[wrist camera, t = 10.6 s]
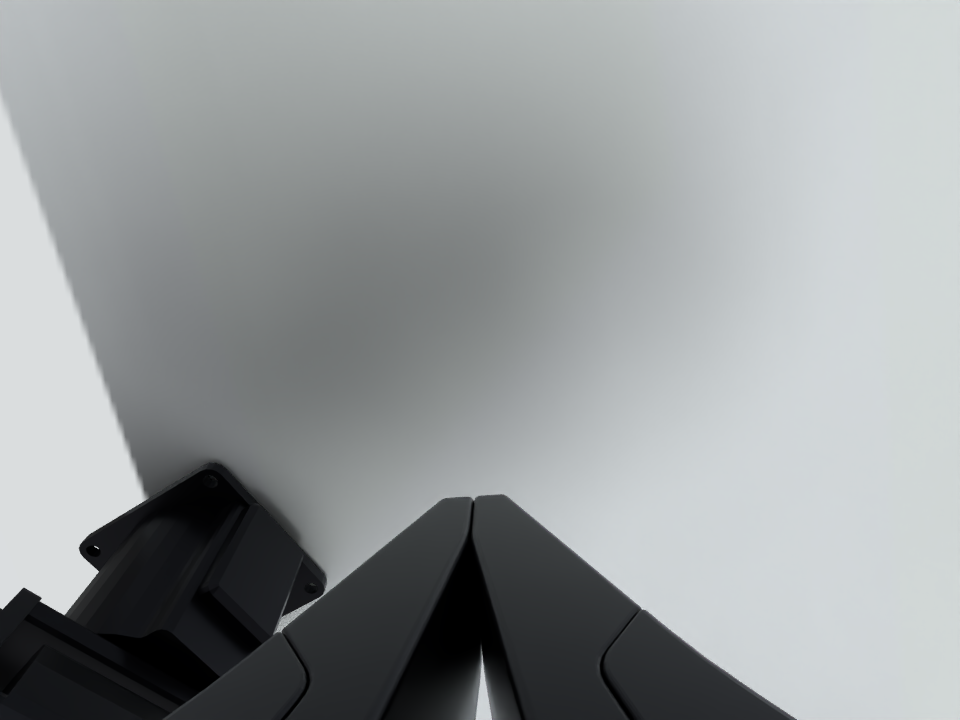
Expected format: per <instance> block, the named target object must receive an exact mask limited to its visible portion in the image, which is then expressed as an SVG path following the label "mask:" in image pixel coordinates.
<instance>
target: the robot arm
mask: <svg viewBox="0 0 960 720" xmlns="http://www.w3.org/2000/svg"><path fill="white" fill-rule="evenodd" d="M208 475H211V476H214V477H215V478H216V479H217V480H218V481H212V480H211V479H209V477H208ZM94 546H96V547H98V548H99V549H97V548H95V547H94ZM79 550H80V553H81V555H82V556H83V557H84V558H85V559H86V560H87V561H88V562H89V563H90V564H92V565H93V566H94V567H95V568H96V569H97V570H98V571H99V573H98V574H97V575H96V577H95V578H94V579H93V580H92V581H91V583H90V584H89V585H88V587H87V588H86V589H85V590H84V592H83V593H82V594H81V595H80V597H79V598H78V599H77V600H76V602H75V603H74V604H73V605H72V607H71V608H70V609H69V610H68V612H67V613H66V614H65V616H64V615H63V614H61V613H59V612H57V611H56V610H54V609H52V608H50V607H49V606H47V605H45V604H43V603H41V602H40V600H41V597H39V596H37V595H36V594H34V593H32V592H31V591H29V590H27V589H25V588H23V589H22V590H21V591H20V592H19V593H18V594H17V595H16V596H15V597H14V598H13V599H12V600H11V601H10V602H9V603H8V605H7V606H6V607H5V608H4V609H3V610H2V609H1V608H0V720H475V719H476V710H477V702H478V693H479V685H480V674H481V662H482V655H483V664H484V672H485V680H486V686H487V692H488V698H489V704H490V710H491V716H492V720H797V719H795V718H794V717H792V716H791V715H789V714H788V713H786V712H785V711H783V710H782V709H780V708H779V707H777V706H776V705H774V704H773V703H771V702H770V701H768V700H767V699H765V698H764V697H762V696H761V695H759V694H757V693H756V692H755V691H753V690H752V689H750V688H749V687H747V686H746V685H745V684H743V683H742V682H740V681H739V680H737V679H736V678H734V677H733V676H732V675H730V674H729V673H727V672H726V671H724V670H723V669H721V668H720V667H719V666H717V665H716V664H714V663H713V662H711V661H710V660H708V659H707V658H706V657H704V656H703V655H702V654H700V653H699V652H698V651H697V650H695V649H694V648H693V647H691V646H690V645H689V644H688V643H686V642H685V641H684V640H682V639H681V638H680V637H679V636H677V635H676V634H675V633H673V632H672V631H671V630H670V629H668V628H667V627H666V626H665V625H663V624H662V623H661V622H660V621H658V620H657V619H656V618H655V617H654V616H652V615H651V614H650V613H649V612H648V611H646V610H642V609H641V607H640V606H639V605H637V604H636V603H635V602H634V601H633V600H631V599H630V598H629V597H628V596H626V595H625V594H624V593H623V592H622V591H620V590H619V589H618V588H617V587H616V586H614V585H613V584H612V583H611V582H610V581H608V580H607V579H606V578H605V577H604V576H602V575H601V574H600V573H599V572H598V571H596V570H595V569H594V568H593V567H592V566H590V565H589V564H588V563H587V562H586V561H584V560H583V559H582V558H581V557H580V556H578V555H577V554H576V553H575V552H574V551H572V550H571V549H570V548H569V547H567V546H566V545H565V544H564V543H563V542H561V541H560V540H559V539H558V538H557V537H555V536H554V535H553V534H552V533H551V532H549V531H548V530H547V529H546V528H545V527H543V526H542V525H541V524H540V523H539V522H537V521H536V520H535V519H534V518H533V517H531V516H530V515H529V514H528V513H527V512H525V511H524V510H523V509H522V508H521V507H519V506H518V505H517V504H516V503H514V502H513V501H512V500H511V499H510V498H508V497H507V496H505V495H502V494H500V495H485V496H478V497H476V498H475V500H473V499H472V498H471V497H455V498H445V499H442V500H441V501H439V502H438V503H437V504H436V505H434V506H433V507H432V508H431V509H430V510H428V511H427V512H426V513H425V514H423V515H422V516H421V517H420V518H419V519H417V520H416V521H415V522H414V523H412V524H411V525H410V526H409V527H408V528H406V529H405V530H404V531H403V532H401V533H400V534H399V535H398V536H396V537H395V538H394V539H393V540H392V541H390V542H389V543H388V544H387V545H385V546H384V547H383V548H382V549H381V550H379V551H378V552H377V553H376V554H374V555H373V556H372V557H371V558H369V559H368V560H367V561H366V562H365V563H363V564H362V565H361V566H360V567H358V568H357V569H356V570H355V571H354V572H352V573H351V574H350V575H349V576H347V577H346V578H345V579H344V580H342V581H341V582H340V583H339V584H338V585H336V586H335V587H334V588H333V589H331V590H330V591H329V592H328V593H327V594H325V595H324V596H323V597H322V598H320V599H319V600H318V601H317V602H315V603H314V604H313V605H312V606H311V607H309V608H308V609H307V610H306V611H304V612H303V613H302V614H301V615H300V616H298V617H297V618H296V619H295V620H293V621H292V622H291V623H290V624H288V625H287V626H286V627H285V628H284V629H283V630H282V633H280V632H278V633H275V632H276V630H277V627H278V624H279V622H280V619H281V617H282V616H284V615H286V614H288V613H290V612H292V611H294V610H296V609H298V608H300V607H301V606H303V605H305V604H307V603H309V602H311V601H313V600H315V599H317V598H319V597H320V596H321V595H323V593H324V591H325V587H326V584H327V579H326V577H325V575H324V574H323V573H322V572H321V571H320V570H319V569H318V568H317V567H316V565H315V564H314V563H313V562H312V561H311V560H310V559H309V558H308V557H307V556H306V555H305V554H304V552H303V550H302V549H301V548H300V547H299V546H298V545H297V544H296V543H295V542H294V541H293V539H292V538H291V537H290V536H289V535H288V534H287V533H286V532H285V531H284V530H283V529H282V528H281V526H280V525H279V524H278V523H277V522H276V521H275V520H274V519H273V518H272V517H271V516H270V515H269V513H268V512H267V511H266V510H265V509H264V508H263V507H262V506H261V505H259V504H258V503H257V502H256V500H255V499H254V498H253V497H252V496H251V495H250V494H249V493H248V492H247V491H246V490H245V489H244V487H243V486H242V485H241V484H240V483H239V482H238V481H237V480H236V479H235V478H234V477H233V476H232V474H231V473H230V472H229V471H228V470H227V469H226V468H225V467H223V466H222V465H220V464H217V463H208V464H205V465H204V466H202V467H200V468H199V469H197V470H195V471H194V472H192V473H190V474H189V475H187V476H185V477H184V478H182V479H180V480H179V481H177V482H175V483H174V484H172V485H171V486H169V487H167V488H166V489H164V490H162V491H161V492H159V493H157V494H156V495H154V496H152V497H151V498H149V499H147V500H146V501H144V502H142V503H141V504H139V505H138V506H136V507H134V508H132V509H131V510H129V511H127V512H126V513H124V514H123V515H121V516H119V517H118V518H116V519H114V520H113V521H111V522H109V523H108V524H106V525H104V526H103V527H101V528H99V529H98V530H96V531H94V532H93V533H91V534H90V535H89V536H87V537H86V539H85V540H84V541H83V542H82V543H81V544H80V547H79ZM308 583H314V584H315V585H316V586H312V585H310V584H308Z"/></svg>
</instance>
